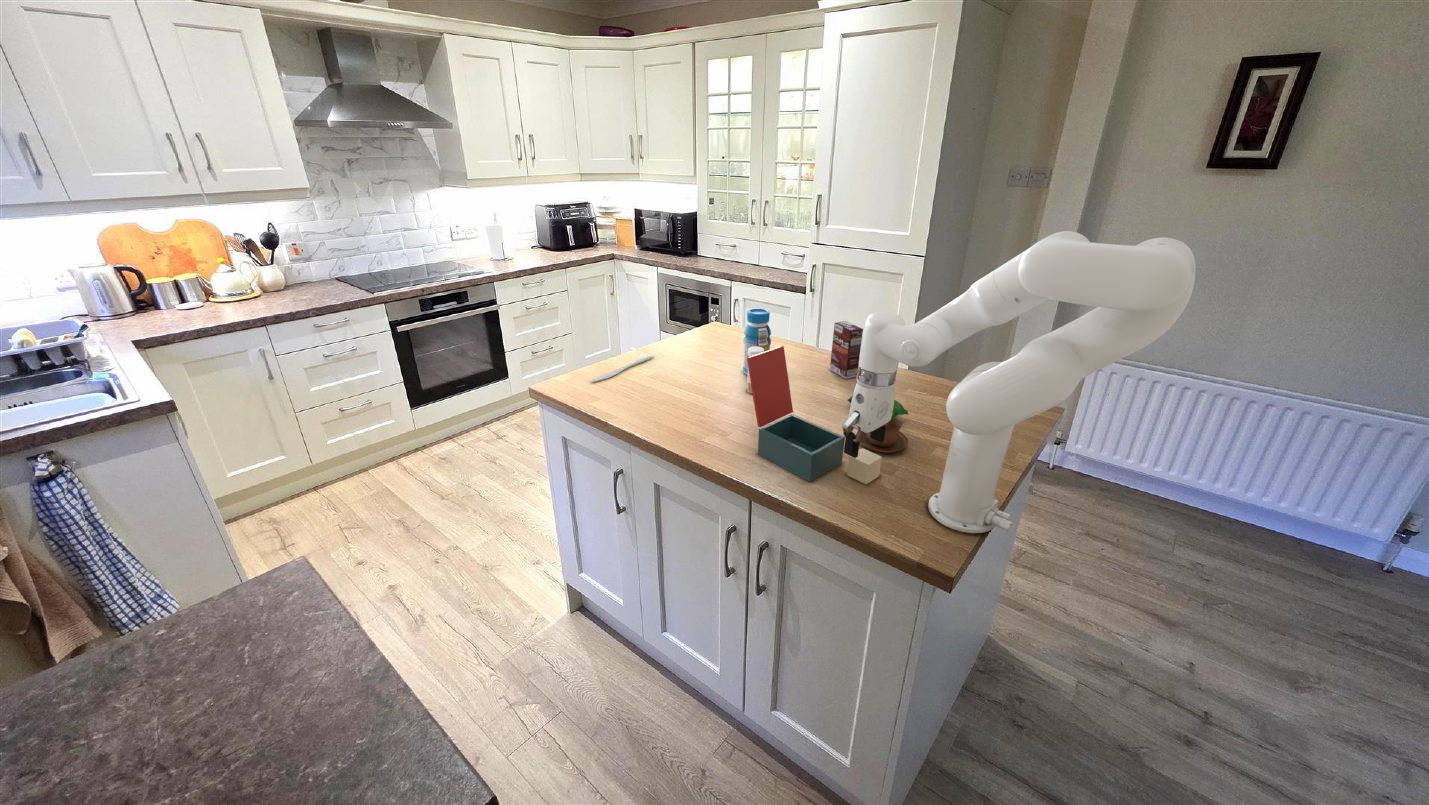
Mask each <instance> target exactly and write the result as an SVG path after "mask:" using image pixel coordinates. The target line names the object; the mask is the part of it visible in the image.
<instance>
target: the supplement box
mask: <svg viewBox="0 0 1429 805" xmlns="http://www.w3.org/2000/svg"><path fill="white" fill-rule="evenodd" d="M863 334H864V328H863V327H860V326H857V325H855V324H853V323H851V322H849V321H848V320H842V321H837V322H834V325H833V335H832V345H831V354H830V355H831V356H830V363H829V364H830V365H829V370H830V371H831V372H832V373H835V374H837V375H839V376H840V377H841V378H843V379H845V380H849V379H853V378H857V372H858V366H859V359H860V353H861V347H862V340H863Z"/></svg>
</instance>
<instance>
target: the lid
mask: <svg viewBox="0 0 1429 805" xmlns="http://www.w3.org/2000/svg"><path fill="white" fill-rule="evenodd" d="M747 362H748V369H749V375H750V381H751V387H752V394H751V395H752V399H753V405H754V410H755V418H756V425H757V427H758V428H762V427H764V426H767V425H769V424H771V423H773V422H775V421H777V420H780V419H782V418H784V417H786V416H788V415H791V414H793V413H794V409H793V401H792V396H791V388H790V387H791V386H790V380H789V373H788V367H787V359H786V354H785V346H784V345H780V346H777V347H774V348H770V350H768V351H765V352H762V353H759V354H756V355H753V356H750V357H748V358H747Z"/></svg>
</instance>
